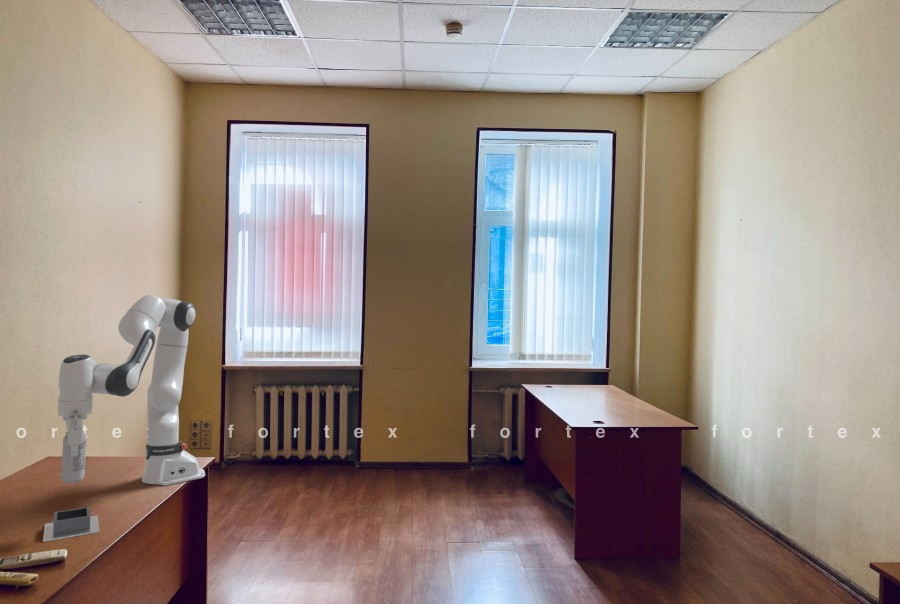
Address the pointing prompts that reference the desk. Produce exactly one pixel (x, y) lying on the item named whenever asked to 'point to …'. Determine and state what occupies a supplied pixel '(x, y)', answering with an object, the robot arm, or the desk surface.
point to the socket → (71, 524)
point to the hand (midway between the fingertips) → (73, 453)
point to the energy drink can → (73, 462)
